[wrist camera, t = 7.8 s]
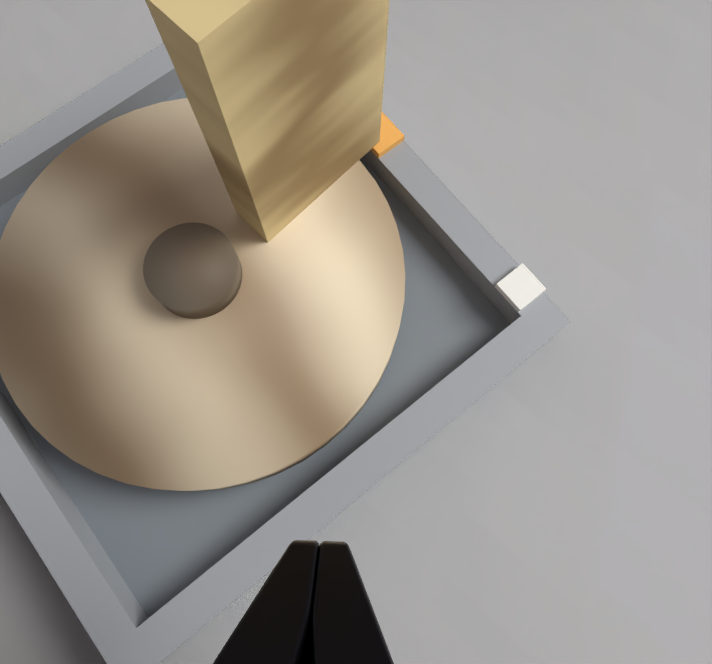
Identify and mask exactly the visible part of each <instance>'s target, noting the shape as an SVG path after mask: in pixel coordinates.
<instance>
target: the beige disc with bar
mask: <svg viewBox="0 0 712 664" xmlns="http://www.w3.org/2000/svg"><path fill="white" fill-rule="evenodd" d="M145 1H146V3H147V5H148V8H149V10H150V12H151V15H152V17H153V19H154V22H155V24H156V26H157V29H158V31H159V33H160V35H161V38H162V40H163V42H164V45H165V47H166V49H167V52H168V54H169V56H170V59H171V61H172V63H173V66H174V68H175V70H176V73H177V75H178V77H179V80H180V82H181V84H182V87H183V89H184V91H185V94H186V96H187V98H183V99H177V100H172V101H166V102H160V103H157V104H153V105H150V106H146V107H143V108H140V109H136V110H133V111H131V112H129V113H126V114H124V115H122V116H119V117H117V118H114V119H112V120H110V121H108V122H106V123H105V124H103V125H101V126H99V127H97V128H96V129H94V130H92V131H90V132H89V133H87V134H86V135H84V136H83V137H81V138H80V139H79V140H77V141H76V142H74V143H73V144H72V145H70V146H69V147H68V148H66V149H65V150H64V151H63V152H62V153H61V154H60V155H59V156H58V157H56V158H55V159H54V160H53V161H52V162H51V163H50V164H49V165H48V166H47V167H46V168H45V169H44V170H43V171H42V173H41V174H40V175H39V176H38V177H37V178H36V179H35V180H34V182H33V183H32V184H31V185H30V187H29V188H28V190H27V191H26V193H25V194H24V195H23V197H22V198H21V200H20V201H19V203H18V204H17V206H16V208H15V210H14V211H13V213H12V215H11V217H10V219H9V221H8V223H7V225H6V227H5V229H4V232H3V234H2V237H1V240H0V373H1V376H2V379H3V381H4V383H5V385H6V387H7V389H8V391H9V393H10V394H11V396H12V398H13V400H14V402H15V404H16V405H17V406H18V408H19V409H20V410H21V412H22V413H23V414H24V416H25V417H26V418H27V420H28V421H29V422H30V424H31V425H32V426H33V427H34V428H35V429H36V430H37V431H38V432H39V433H40V434H41V435H42V436H43V437H44V438H45V439H46V440H47V441H48V442H49V443H50V444H51V445H53V446H54V447H55V448H57V449H58V450H59V451H61V452H62V453H64V454H65V455H66V456H68V457H69V458H70V459H72V460H73V461H75V462H77V463H79V464H81V465H83V466H84V467H86V468H88V469H90V470H92V471H94V472H96V473H98V474H100V475H103V476H106V477H109V478H112V479H114V480H117V481H120V482H123V483H126V484H131V485H136V486H141V487H146V488H151V489H159V490H176V491H203V490H216V489H227V488H231V487H236V486H241V485H246V484H250V483H254V482H257V481H260V480H262V479H265V478H268V477H271V476H274V475H276V474H279V473H281V472H283V471H285V470H287V469H289V468H291V467H293V466H295V465H297V464H299V463H301V462H303V461H304V460H306V459H307V458H309V457H310V456H312V455H313V454H314V453H316V452H317V451H319V450H320V449H322V448H323V447H325V446H326V445H327V444H328V443H329V442H330V441H332V440H333V439H334V438H335V437H336V436H337V435H338V434H339V433H341V432H342V431H343V430H344V429H345V428H346V427H347V426H348V425H349V424H350V422H351V421H352V420H353V419H354V418H355V417H356V415H357V414H358V413H359V412H360V411H361V410H362V408H363V407H364V406H365V404H366V403H367V401H368V400H369V398H370V397H371V395H372V393H373V392H374V390H375V389H376V387H377V386H378V384H379V382H380V380H381V378H382V375H383V373H384V371H385V369H386V367H387V365H388V363H389V360H390V357H391V354H392V351H393V348H394V345H395V342H396V338H397V335H398V331H399V327H400V322H401V317H402V311H403V305H404V298H405V266H404V256H403V248H402V244H401V240H400V236H399V232H398V228H397V224H396V222H395V219H394V217H393V214H392V212H391V209H390V207H389V204H388V202H387V200H386V198H385V197H384V195H383V193H382V191H381V190H380V188H379V186H378V184H377V182H376V181H375V180H374V178H373V177H372V176H371V174H370V173H369V172H368V170H367V169H366V168H365V166H364V165H363V164H362V163H361V161H360V159H361V158H362V157H363V156H364V155H365V154H366V153H367V152H369V151H370V150H371V149H372V148H373V147H374V146H375V145H376V144H377V143H378V142H380V128H381V114H382V99H383V84H384V70H385V55H386V41H387V26H388V11H389V0H145Z"/></svg>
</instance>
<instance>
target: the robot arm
mask: <svg viewBox="0 0 712 664" xmlns="http://www.w3.org/2000/svg"><path fill="white" fill-rule="evenodd" d="M213 664H394V663H393V660H392V658H391V655H390V652H389V650H388V647H387V645H386V642H385V639H384V637H383V634H382V631H381V629H380V626H379V624H378V621H377V618H376V616H375V613H374V611H373V608H372V605H371V603H370V600H369V597H368V595H367V592H366V590H365V587H364V584H363V582H362V579H361V576H360V574H359V571H358V569H357V566H356V563H355V561H354V558H353V555H352V553H351V550H350V548H349V546H348V544H347V543H345V542H332V541H324V542H322V543H321V544H320V546H319V543H318V542H316V541H306V540H295V541H293V542H291V543H290V545H289V546H288V547H287V549H286V551H285V552H284V554H283V555H282V557H281V558H280V560H279V561H278V563H277V565H276V566H275V568H274V569H273V571H272V572H271V574H270V575H269V577H268V579H267V580H266V582H265V583H264V585H263V586H262V588H261V589H260V591H259V593H258V594H257V596H256V597H255V599H254V600H253V602H252V604H251V605H250V607H249V608H248V610H247V611H246V613H245V614H244V616H243V618H242V619H241V621H240V622H239V624H238V625H237V627H236V628H235V630H234V632H233V633H232V635H231V636H230V638H229V639H228V641H227V642H226V644H225V646H224V647H223V649H222V650H221V652H220V653H219V655H218V656H217V658H216V660H215V661H214V663H213Z"/></svg>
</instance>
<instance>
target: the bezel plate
mask: <svg viewBox="0 0 712 664" xmlns="http://www.w3.org/2000/svg"><path fill="white" fill-rule="evenodd" d="M183 98H187V96H186V94H185V91H184V89H183V87H182V84H181V82H180V80H179V77H178V75H177V73H176V70H175V68H174V66H173V63H172V61H171V59H170V56H169V54H168V52H167V49H166V47H165V45H164V43H163V44H162V45H160V46H159V47H157V48H155V49H154V50H152V51H151V52H149V53H148V54H146V55H144V56H143V57H141V58H140V59H138V60H136V61H135V62H133V63H132V64H130V65H128V66H127V67H125V68H124V69H122V70H120V71H119V72H117V73H116V74H114V75H113V76H111V77H109V78H108V79H106V80H105V81H103V82H101V83H100V84H98V85H97V86H95V87H93V88H92V89H90V90H89V91H87V92H86V93H84V94H82V95H81V96H79V97H78V98H76V99H74V100H73V101H71V102H70V103H68V104H66V105H65V106H63V107H62V108H60V109H58V110H57V111H55V112H54V113H52V114H51V115H49V116H47V117H46V118H44V119H43V120H41V121H39V122H38V123H36V124H35V125H33V126H31V127H30V128H28V129H27V130H25V131H23V132H22V133H20V134H19V135H17V136H16V137H14V138H12V139H11V140H9V141H8V142H6V143H4V144H3V145H1V146H0V240H1V237H2V234H3V232H4V229H5V227H6V225H7V223H8V221H9V219H10V217H11V215H12V213H13V211H14V210H15V208H16V206H17V204H18V203H19V201H20V200H21V198H22V197H23V195H24V194H25V193H26V191H27V190H28V188H29V187H30V185H31V184H32V183H33V182H34V180H35V179H36V178H37V177H38V176H39V175H40V174H41V173H42V171H43V170H44V169H45V168H46V167H47V166H48V165H49V164H50V163H51V162H52V161H53V160H54V159H55V158H56V157H58V156H59V155H60V154H61V153H62V152H63V151H64V150H65V149H66V148H68V147H69V146H70V145H72V144H73V143H74V142H76V141H77V140H79V139H80V138H81V137H83V136H84V135H86V134H87V133H89V132H90V131H92V130H94V129H96V128H97V127H99V126H101V125H103V124H105V123H106V122H108V121H110V120H112V119H114V118H117V117H119V116H122V115H124V114H126V113H129V112H131V111H133V110H136V109H140V108H143V107H146V106H150V105H153V104H157V103H160V102H166V101H172V100H177V99H183ZM360 161H361V163H362V164H363V165H364V166H365V168H366V169H367V170H368V172H369V173H370V174H371V176H372V177H373V178H374V180H375V181H376V182H377V184H378V186H379V188H380V190H381V191H382V193H383V195H384V197H385V198H386V200H387V202H388V204H389V207H390V209H391V212H392V214H393V217H394V219H395V222H396V224H397V228H398V232H399V236H400V240H401V244H402V248H403V256H404V266H405V298H404V305H403V311H402V317H401V322H400V327H399V331H398V335H397V338H396V342H395V345H394V348H393V351H392V354H391V357H390V360H389V363H388V365H387V367H386V369H385V371H384V373H383V375H382V378H381V380H380V382H379V384H378V386H377V387H376V389H375V390H374V392H373V393H372V395H371V397H370V398H369V400H368V401H367V403H366V404H365V406H364V407H363V408H362V410H361V411H360V412H359V413H358V414H357V415H356V417H355V418H354V419H353V420H352V421H351V422H350V424H349V425H348V426H347V427H346V428H345V429H344V430H343V431H342V432H341V433H339V434H338V435H337V436H336V437H335V438H334V439H333V440H332V441H330V442H329V443H328V444H327V445H326V446H325V447H323V448H322V449H320V450H319V451H317V452H316V453H314V454H313V455H312V456H310V457H309V458H307V459H306V460H304V461H303V462H301V463H299V464H297V465H295V466H293V467H291V468H289V469H287V470H285V471H283V472H281V473H279V474H276V475H274V476H271V477H268V478H265V479H262V480H260V481H257V482H254V483H250V484H246V485H241V486H236V487H231V488H227V489H216V490H203V491H176V490H159V489H151V488H146V487H141V486H136V485H131V484H126V483H123V482H120V481H117V480H114V479H112V478H109V477H106V476H103V475H100V474H98V473H96V472H94V471H92V470H90V469H88V468H86V467H84V466H83V465H81V464H79V463H77V462H75V461H73V460H72V459H70V458H69V457H68V456H66V455H65V454H64V453H62V452H61V451H59V450H58V449H57V448H55V447H54V446H53V445H51V444H50V443H49V442H48V441H47V440H46V439H45V438H44V437H43V436H42V435H41V434H40V433H39V432H38V431H37V430H36V429H35V428H34V427H33V426H32V425H31V424H30V422H29V421H28V420H27V418H26V417H25V416H24V414H23V413H22V412H21V410H20V409H19V408H18V406H17V405H16V404H15V402H14V400H13V398H12V396H11V394H10V393H9V391H8V389H7V387H6V385H5V383H4V381H3V379H2V376H1V373H0V493H1V494H2V496H3V498H4V499H5V501H6V502H7V504H8V506H9V507H10V509H11V510H12V512H13V514H14V515H15V517H16V518H17V520H18V522H19V523H20V525H21V527H22V528H23V530H24V531H25V533H26V535H27V536H28V538H29V539H30V541H31V543H32V544H33V546H34V547H35V549H36V551H37V552H38V554H39V555H40V557H41V559H42V560H43V562H44V564H45V565H46V567H47V568H48V570H49V572H50V573H51V575H52V576H53V578H54V580H55V581H56V583H57V584H58V586H59V588H60V589H61V591H62V593H63V594H64V596H65V597H66V599H67V601H68V602H69V604H70V605H71V607H72V609H73V610H74V612H75V613H76V615H77V617H78V618H79V620H80V621H81V623H82V625H83V626H84V628H85V630H86V631H87V633H88V634H89V636H90V638H91V639H92V641H93V642H94V644H95V646H96V647H97V649H98V650H99V652H100V654H101V655H102V657H103V658H104V660H105V662H106V663H107V664H158V663H159V662H160V661H162V660H163V659H164V658H165V657H166V656H168V655H169V654H170V653H171V652H172V651H174V650H175V649H176V648H177V647H179V646H180V645H181V644H182V643H183V642H185V641H186V640H187V639H188V638H189V637H191V636H192V635H193V634H194V633H195V632H197V631H198V630H199V629H200V628H201V627H203V626H204V625H205V624H206V623H207V622H209V621H210V620H211V619H212V618H214V617H215V616H216V615H217V614H218V613H220V612H221V611H222V610H223V609H224V608H226V607H227V606H228V605H229V604H230V603H232V602H233V601H234V600H235V599H236V598H238V597H239V596H240V595H241V594H242V593H244V592H245V591H246V590H247V589H249V588H250V587H251V586H252V585H253V584H255V583H256V582H257V581H258V580H259V579H261V578H262V577H263V576H264V575H265V574H267V573H268V572H269V571H270V570H271V569H273V568H274V567H275V566H276V565H277V563H278V561H279V560H280V558H281V557H282V555H283V554H284V552H285V551H286V549H287V547H288V546H289V545H290V543H291V542H293V541H295V540H308V539H309V538H310V537H311V536H313V535H314V534H315V533H316V532H317V531H319V530H320V529H321V528H322V527H323V526H325V525H326V524H327V523H328V522H329V521H331V520H332V519H333V518H334V517H335V516H337V515H338V514H339V513H340V512H341V511H343V510H344V509H345V508H346V507H348V506H349V505H350V504H351V503H352V502H354V501H355V500H356V499H357V498H358V497H360V496H361V495H362V494H363V493H364V492H366V491H367V490H368V489H369V488H370V487H372V486H373V485H374V484H375V483H376V482H378V481H379V480H380V479H381V478H383V477H384V476H385V475H386V474H387V473H389V472H390V471H391V470H392V469H393V468H395V467H396V466H397V465H398V464H399V463H401V462H402V461H403V460H404V459H405V458H407V457H408V456H409V455H410V454H412V453H413V452H414V451H415V450H416V449H418V448H419V447H420V446H421V445H422V444H424V443H425V442H426V441H427V440H428V439H430V438H431V437H432V436H433V435H434V434H436V433H437V432H438V431H439V430H440V429H442V428H443V427H444V426H445V425H447V424H448V423H449V422H450V421H451V420H453V419H454V418H455V417H456V416H457V415H459V414H460V413H461V412H462V411H463V410H465V409H466V408H467V407H468V406H469V405H471V404H472V403H473V402H474V401H475V400H477V399H478V398H479V397H480V396H482V395H483V394H484V393H485V392H486V391H488V390H489V389H490V388H491V387H492V386H494V385H495V384H496V383H497V382H498V381H500V380H501V379H502V378H503V377H504V376H506V375H507V374H508V373H509V372H511V371H512V370H513V369H514V368H515V367H517V366H518V365H519V364H520V363H521V362H523V361H524V360H525V359H526V358H527V357H529V356H530V355H531V354H532V353H533V352H535V351H536V350H537V349H538V348H539V347H541V346H542V345H543V344H544V343H546V342H547V341H548V340H549V339H550V338H552V337H553V336H554V335H555V334H556V333H558V332H559V331H560V330H561V329H562V328H564V327H565V326H566V325H567V324H568V323H570V322H571V321H570V320H569V319H568V317H567V316H566V315H565V314H564V313H563V312H562V311H561V310H560V309H559V308H558V307H557V306H556V305H555V303H554V302H553V301H552V300H551V299H550V298H549V297H548V296H547V295H546V294H545V293H544V291H545V290H546V288H545V287H544V286H543V285H542V284H541V283H540V281H539V280H538V279H537V278H536V277H535V276H534V275H533V274H532V273H531V272H530V271H529V270H528V269H527V267H526V266H525V265H524V264H523V263H522V264H521V265H520V266H519V265H518V263H517V262H516V261H515V260H514V259H513V258H512V257H511V256H510V255H509V254H508V253H507V252H506V251H505V249H504V248H503V247H502V246H501V245H500V244H499V243H498V242H497V241H496V240H495V239H494V238H493V236H492V235H491V234H490V233H489V232H488V231H487V230H486V229H485V228H484V227H483V226H482V225H481V223H480V222H479V221H478V220H477V219H476V218H475V217H474V216H473V215H472V214H471V213H470V212H469V211H468V209H467V208H466V207H465V206H464V205H463V204H462V203H461V202H460V201H459V200H458V199H457V198H456V196H455V195H454V194H453V193H452V192H451V191H450V190H449V189H448V188H447V187H446V186H445V185H444V184H443V182H442V181H441V180H440V179H439V178H438V177H437V176H436V175H435V174H434V173H433V172H432V171H431V169H430V168H429V167H428V166H427V165H426V164H425V163H424V162H423V161H422V160H421V159H420V158H419V157H418V155H417V154H416V153H415V152H414V151H413V150H412V149H411V148H410V147H409V146H408V145H407V144H406V142H405V141H404V135H403V134H402V133H401V132H400V131H399V130H398V128H397V127H396V126H395V125H394V124H393V123H392V122H391V121H390V120H389V119H388V118H387V117H386V116H385V114H384V113H383V112H382V114H381V128H380V142H378V143H377V144H376V145H375V146H374V147H373V148H372V149H371V150H370V151H369V152H367V153H366V154H365V155H364V156H363V157H362V158H361V159H360Z"/></svg>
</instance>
